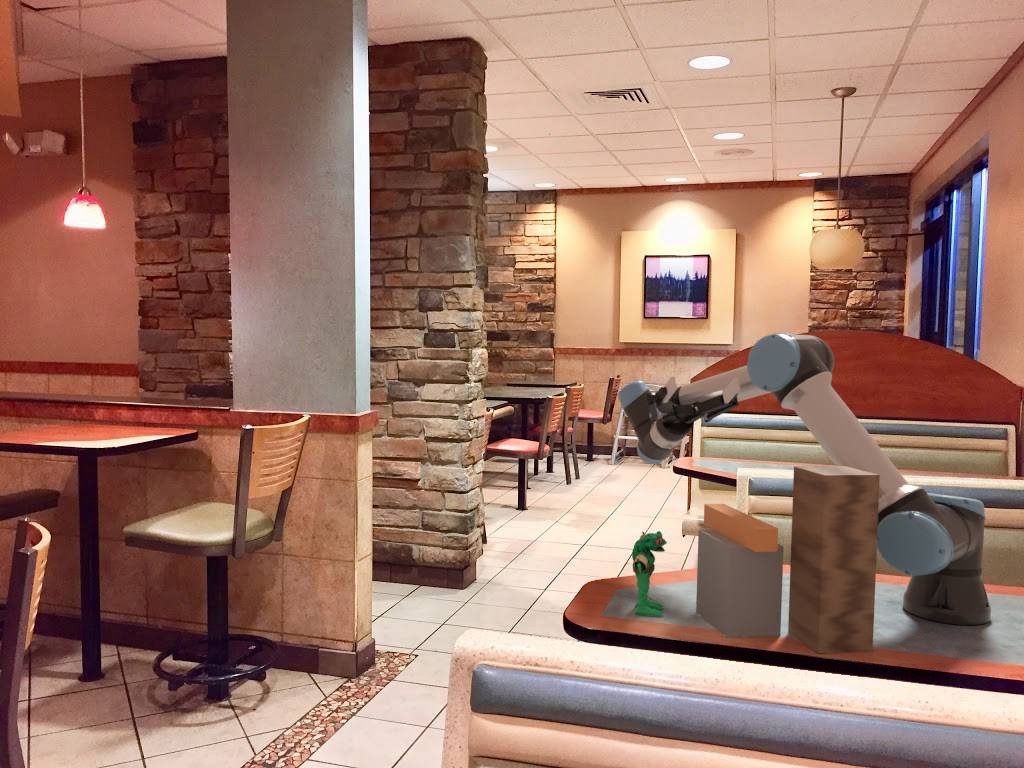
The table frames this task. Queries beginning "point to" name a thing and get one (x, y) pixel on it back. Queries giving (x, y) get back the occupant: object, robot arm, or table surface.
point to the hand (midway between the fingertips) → (706, 382)
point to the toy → (646, 571)
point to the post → (833, 558)
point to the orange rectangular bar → (741, 527)
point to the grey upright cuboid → (738, 586)
